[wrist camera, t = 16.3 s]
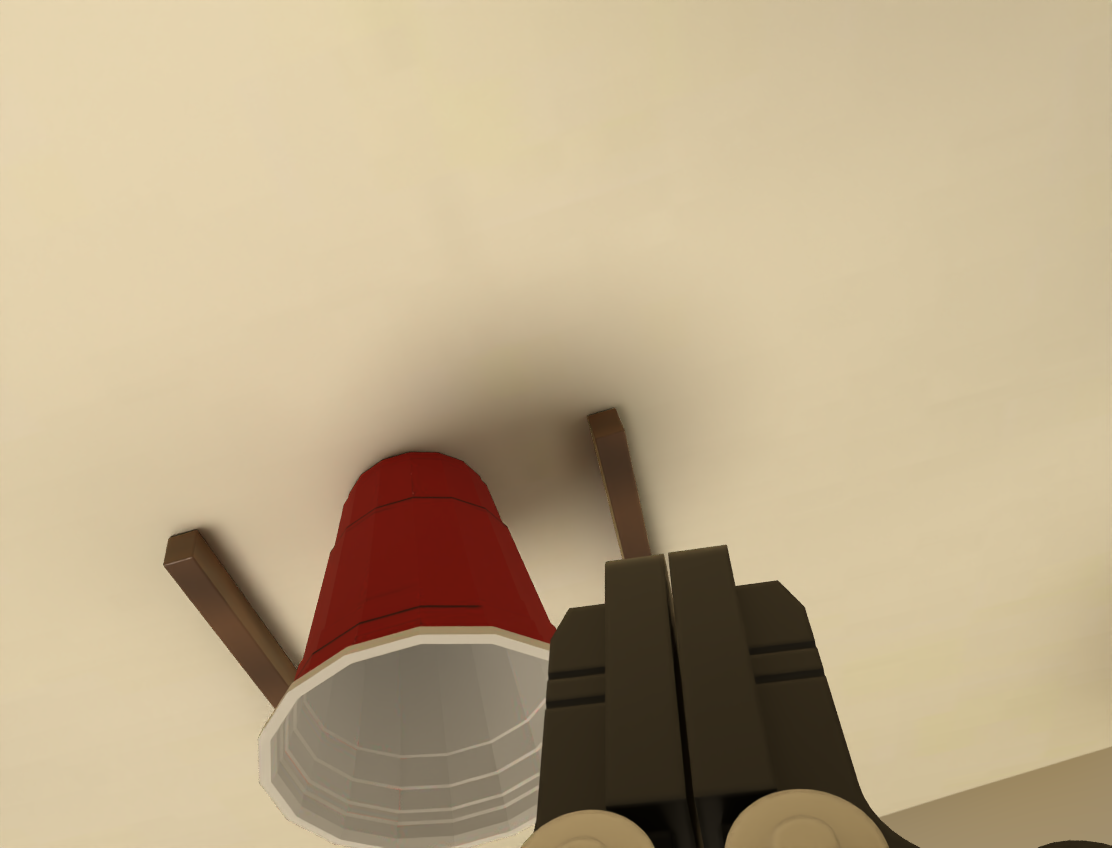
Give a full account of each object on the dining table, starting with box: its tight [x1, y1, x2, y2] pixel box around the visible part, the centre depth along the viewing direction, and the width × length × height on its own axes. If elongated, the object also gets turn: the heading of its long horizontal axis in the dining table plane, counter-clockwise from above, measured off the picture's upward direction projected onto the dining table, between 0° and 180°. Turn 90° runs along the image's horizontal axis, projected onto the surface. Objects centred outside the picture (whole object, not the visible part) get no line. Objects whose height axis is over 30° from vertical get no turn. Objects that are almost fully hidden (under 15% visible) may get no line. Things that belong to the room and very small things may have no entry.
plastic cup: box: [258, 452, 556, 848], centre depth 31 cm, size 11×11×12 cm
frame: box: [163, 408, 651, 709], centre depth 39 cm, size 15×18×2 cm
